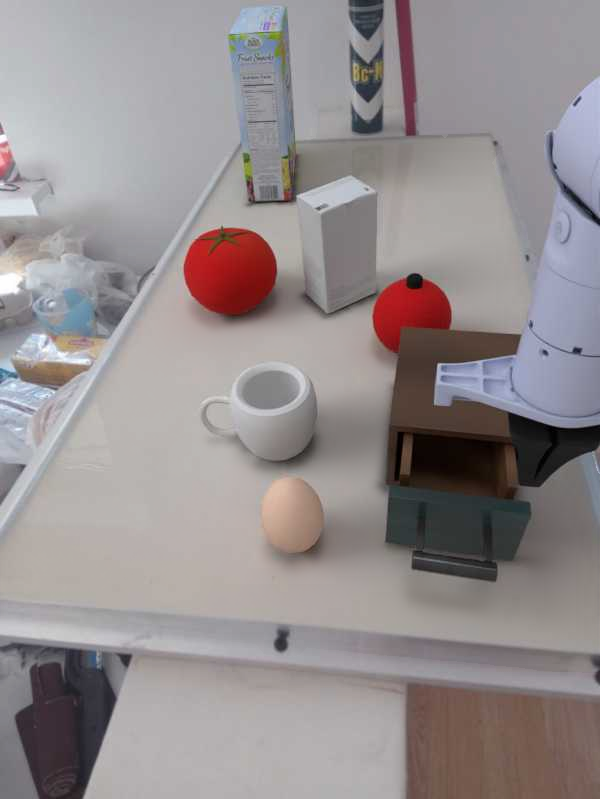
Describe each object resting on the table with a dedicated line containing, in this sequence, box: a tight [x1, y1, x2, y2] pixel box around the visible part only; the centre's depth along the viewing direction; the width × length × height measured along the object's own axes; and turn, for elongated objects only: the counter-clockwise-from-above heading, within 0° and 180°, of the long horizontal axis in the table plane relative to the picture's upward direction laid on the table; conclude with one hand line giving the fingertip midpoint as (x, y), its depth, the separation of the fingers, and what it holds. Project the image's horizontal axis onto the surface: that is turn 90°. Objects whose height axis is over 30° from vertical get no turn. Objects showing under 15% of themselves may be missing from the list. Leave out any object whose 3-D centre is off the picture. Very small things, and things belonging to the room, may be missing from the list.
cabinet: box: [385, 327, 522, 487], centre depth 52 cm, size 14×12×9 cm
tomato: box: [182, 225, 278, 316], centre depth 72 cm, size 11×12×10 cm
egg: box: [260, 476, 325, 554], centre depth 45 cm, size 5×5×8 cm
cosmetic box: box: [296, 174, 379, 315], centre depth 69 cm, size 8×6×15 cm
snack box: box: [227, 4, 297, 203], centre depth 95 cm, size 22×9×26 cm, turn 179°
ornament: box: [371, 272, 453, 355], centre depth 62 cm, size 9×9×10 cm
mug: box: [198, 361, 318, 462], centre depth 54 cm, size 12×8×8 cm
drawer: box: [384, 432, 532, 583], centre depth 46 cm, size 17×10×7 cm, turn 168°
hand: (528, 475), depth 39 cm, fingers closed
